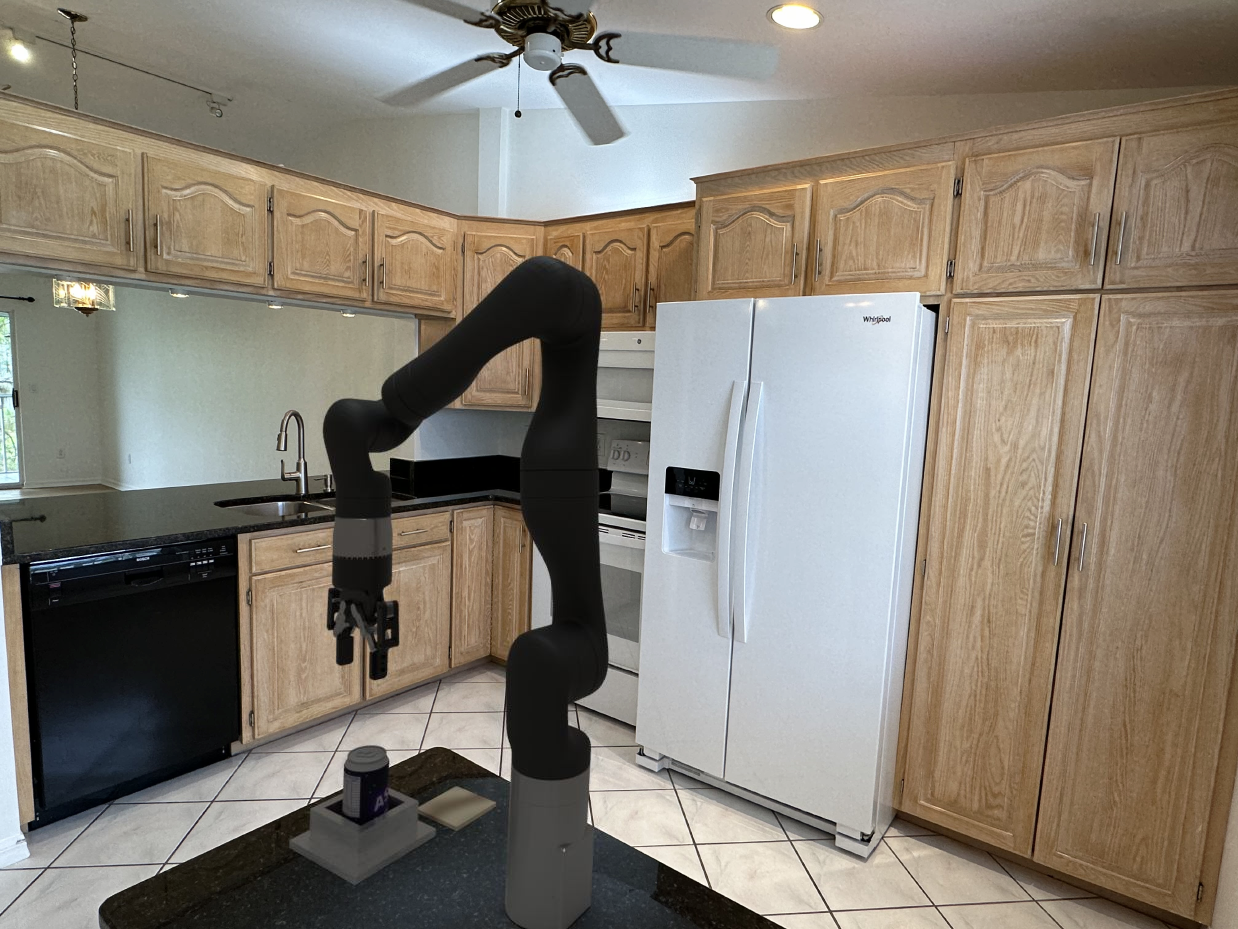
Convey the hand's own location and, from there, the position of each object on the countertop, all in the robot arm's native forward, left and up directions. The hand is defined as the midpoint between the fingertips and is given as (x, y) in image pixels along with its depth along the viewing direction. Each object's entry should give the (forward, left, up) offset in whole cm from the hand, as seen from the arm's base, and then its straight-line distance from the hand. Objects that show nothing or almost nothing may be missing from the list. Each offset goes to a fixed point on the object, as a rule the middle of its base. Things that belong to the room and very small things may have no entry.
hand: (360, 671), depth 95 cm
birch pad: (-6, -13, -22) cm, 26 cm away
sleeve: (-2, 0, -22) cm, 22 cm away
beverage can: (-2, 0, -23) cm, 23 cm away
